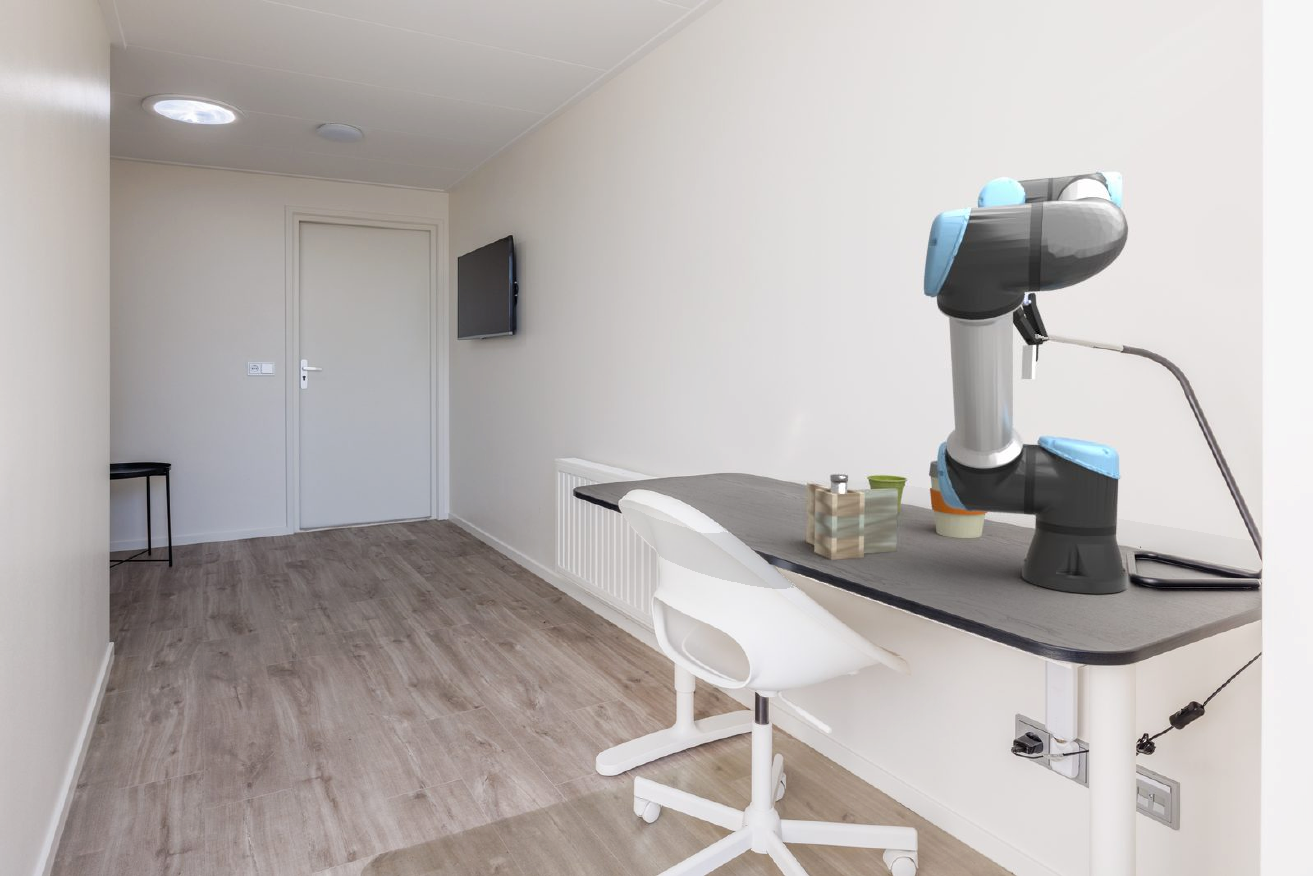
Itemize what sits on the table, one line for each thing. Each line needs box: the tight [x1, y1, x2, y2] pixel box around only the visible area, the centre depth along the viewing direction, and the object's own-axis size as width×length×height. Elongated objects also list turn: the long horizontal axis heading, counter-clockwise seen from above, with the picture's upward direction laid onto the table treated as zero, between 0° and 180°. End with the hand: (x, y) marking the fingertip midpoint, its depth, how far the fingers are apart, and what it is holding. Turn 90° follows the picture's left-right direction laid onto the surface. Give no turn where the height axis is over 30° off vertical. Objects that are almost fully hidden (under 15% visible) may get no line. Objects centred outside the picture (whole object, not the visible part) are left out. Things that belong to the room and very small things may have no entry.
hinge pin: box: [829, 473, 849, 494], centre depth 147 cm, size 3×3×15 cm
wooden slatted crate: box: [805, 482, 898, 561], centre depth 152 cm, size 15×15×12 cm
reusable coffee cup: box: [928, 460, 988, 539], centre depth 166 cm, size 12×13×15 cm
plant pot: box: [866, 474, 908, 515], centre depth 191 cm, size 9×9×9 cm
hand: (998, 379), depth 151 cm, fingers open, 13 cm apart
